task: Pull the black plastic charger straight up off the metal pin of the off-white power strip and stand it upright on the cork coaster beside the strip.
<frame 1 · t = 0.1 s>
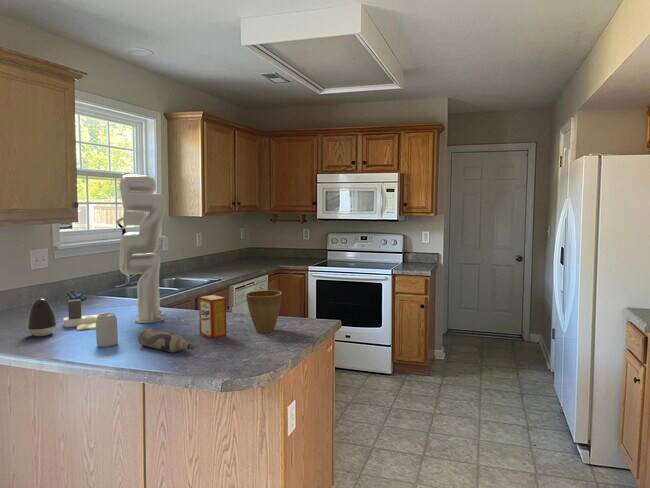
hand: (134, 236, 254), 37 cm above the worktop, tool pointing down, fingers open, 9 cm apart
can: (107, 345, 189), on the worktop
plant pot: (264, 331, 208), on the worktop
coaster: (87, 327, 216), on the worktop
charger: (75, 318, 222), point 3 cm above the worktop, touching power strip
baking soda box: (213, 335, 202), on the worktop
decorative bottle: (164, 351, 181), on the worktop
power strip: (86, 323, 224), on the worktop
dark egg-shaped diffuser: (42, 335, 205), on the worktop
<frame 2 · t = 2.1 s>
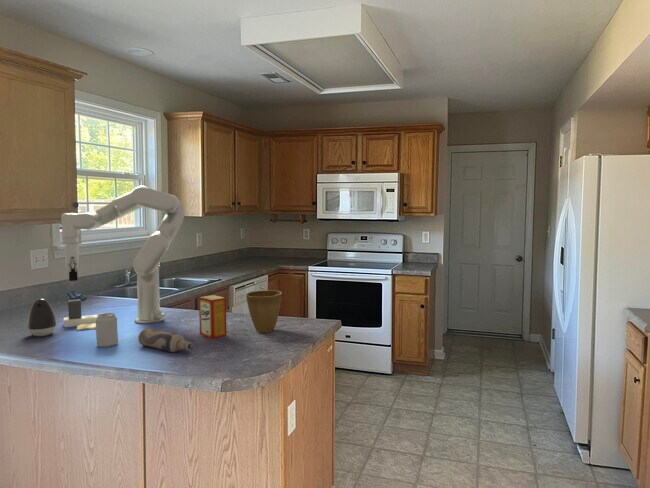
hand: (73, 279, 221), 21 cm above the worktop, tool pointing down, fingers open, 9 cm apart
nothing on the worktop moved.
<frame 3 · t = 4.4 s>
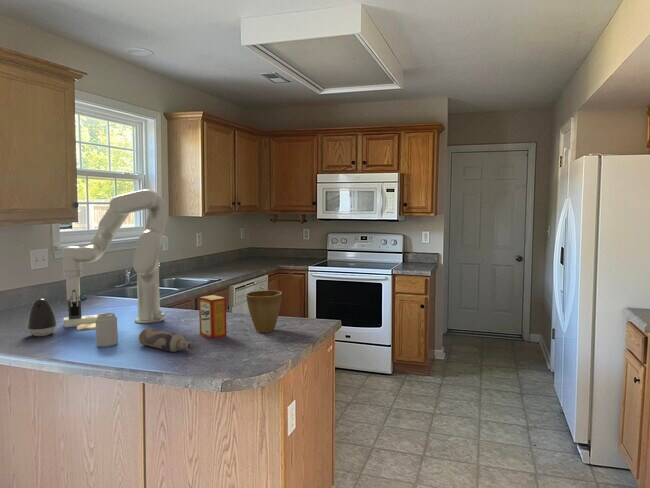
hand: (75, 314, 222), 5 cm above the worktop, tool pointing down, fingers closed on charger, 4 cm apart
charger: (75, 318, 222), point 3 cm above the worktop, touching gripper, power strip
everything else where it was.
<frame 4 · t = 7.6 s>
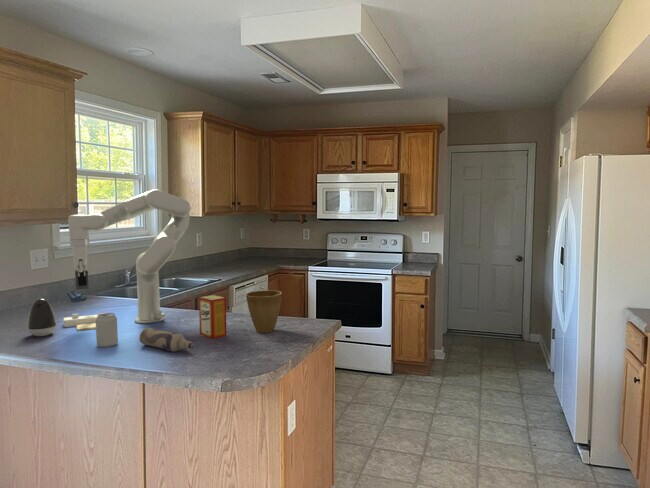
hand: (82, 284, 216), 19 cm above the worktop, tool pointing down, fingers closed on charger, 4 cm apart
charger: (82, 288, 217), point 17 cm above the worktop, touching gripper
everything else where it was.
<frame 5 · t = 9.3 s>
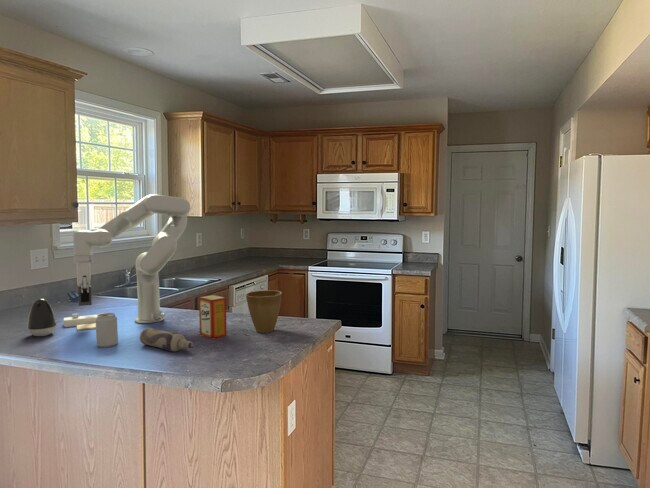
hand: (85, 300, 215), 12 cm above the worktop, tool pointing down, fingers closed on charger, 4 cm apart
charger: (85, 304, 215), point 10 cm above the worktop, touching gripper
when the fingers open (5 cm above the worktop, at t = 11.0 s): charger drops 2 cm, resting on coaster.
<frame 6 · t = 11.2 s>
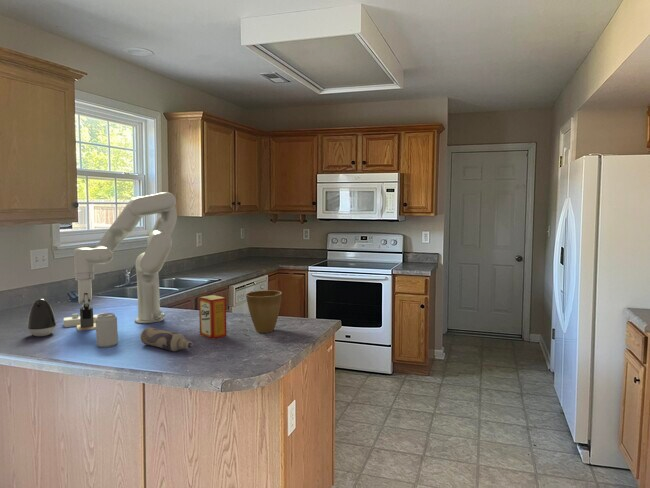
hand: (86, 316, 216), 5 cm above the worktop, tool pointing down, fingers open, 6 cm apart
charger: (87, 325, 216), point 1 cm above the worktop, touching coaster
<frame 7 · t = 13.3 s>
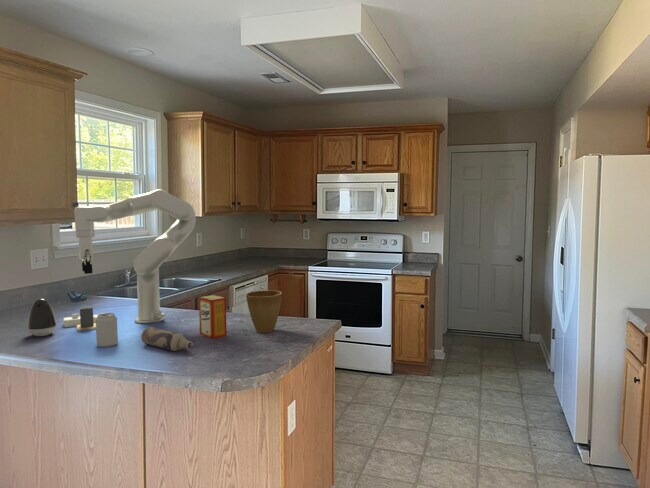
hand: (87, 272, 221), 24 cm above the worktop, tool pointing down, fingers open, 9 cm apart
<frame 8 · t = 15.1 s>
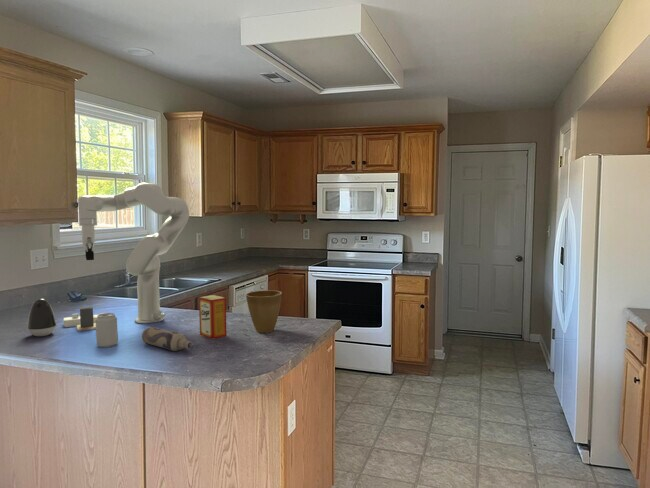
hand: (89, 259, 232), 28 cm above the worktop, tool pointing down, fingers open, 9 cm apart
at the end: charger 0.0 cm off-centre on the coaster, point 0.8 cm above the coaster's base; charger tilted 0°; charger touching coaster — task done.
